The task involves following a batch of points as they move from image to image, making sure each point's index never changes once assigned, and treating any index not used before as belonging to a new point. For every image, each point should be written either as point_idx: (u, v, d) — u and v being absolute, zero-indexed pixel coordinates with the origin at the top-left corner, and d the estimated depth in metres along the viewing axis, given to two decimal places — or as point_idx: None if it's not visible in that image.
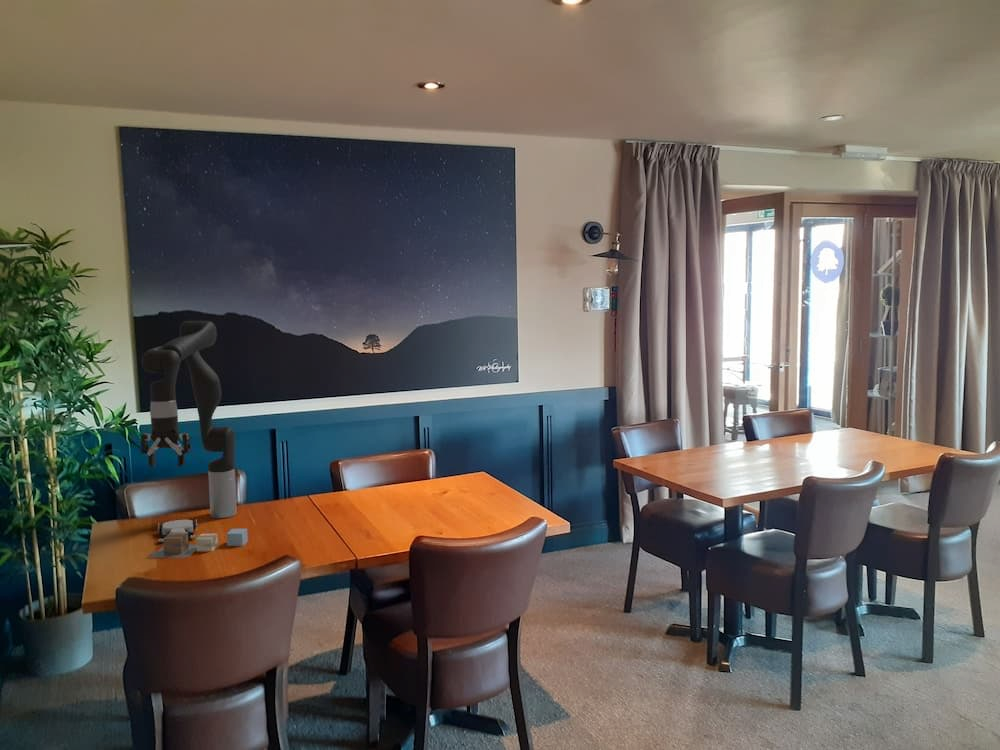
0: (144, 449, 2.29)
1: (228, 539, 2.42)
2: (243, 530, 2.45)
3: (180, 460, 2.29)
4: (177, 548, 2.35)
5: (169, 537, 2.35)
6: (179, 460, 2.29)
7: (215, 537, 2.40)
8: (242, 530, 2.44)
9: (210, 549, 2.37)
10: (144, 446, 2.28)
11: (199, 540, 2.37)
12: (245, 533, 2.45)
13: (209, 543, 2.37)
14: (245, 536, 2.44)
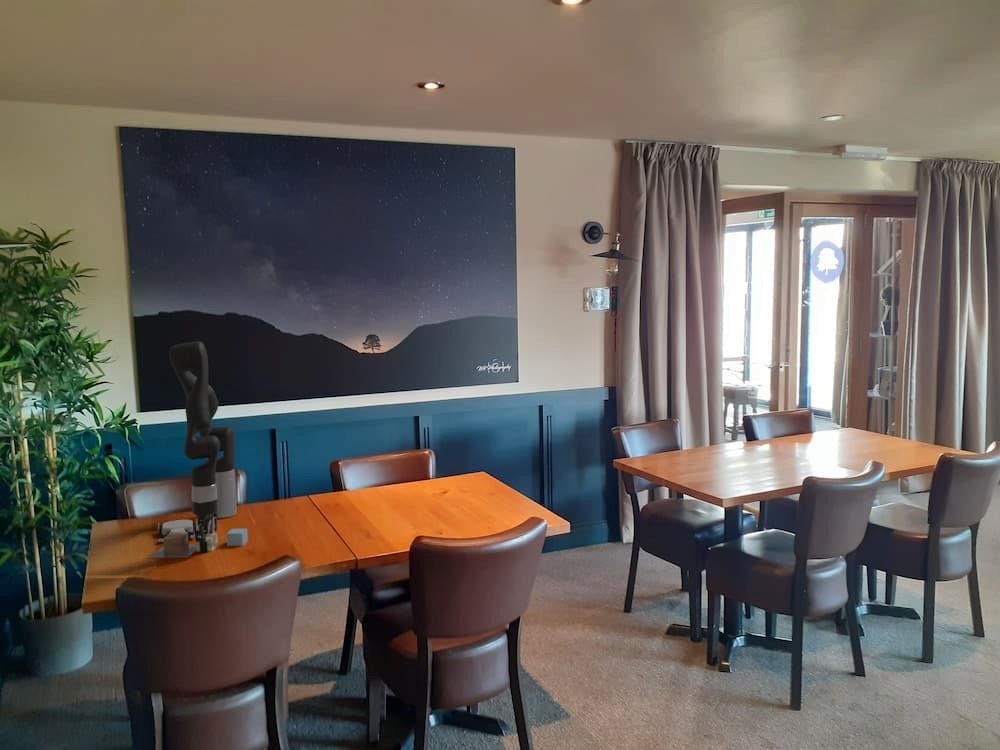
0: (204, 537, 2.34)
1: (228, 539, 2.42)
2: (243, 530, 2.45)
3: None
4: (177, 548, 2.35)
5: (169, 537, 2.35)
6: None
7: (215, 537, 2.40)
8: (242, 530, 2.44)
9: (210, 549, 2.37)
10: (203, 534, 2.34)
11: None
12: (245, 533, 2.45)
13: (209, 542, 2.37)
14: (245, 536, 2.44)
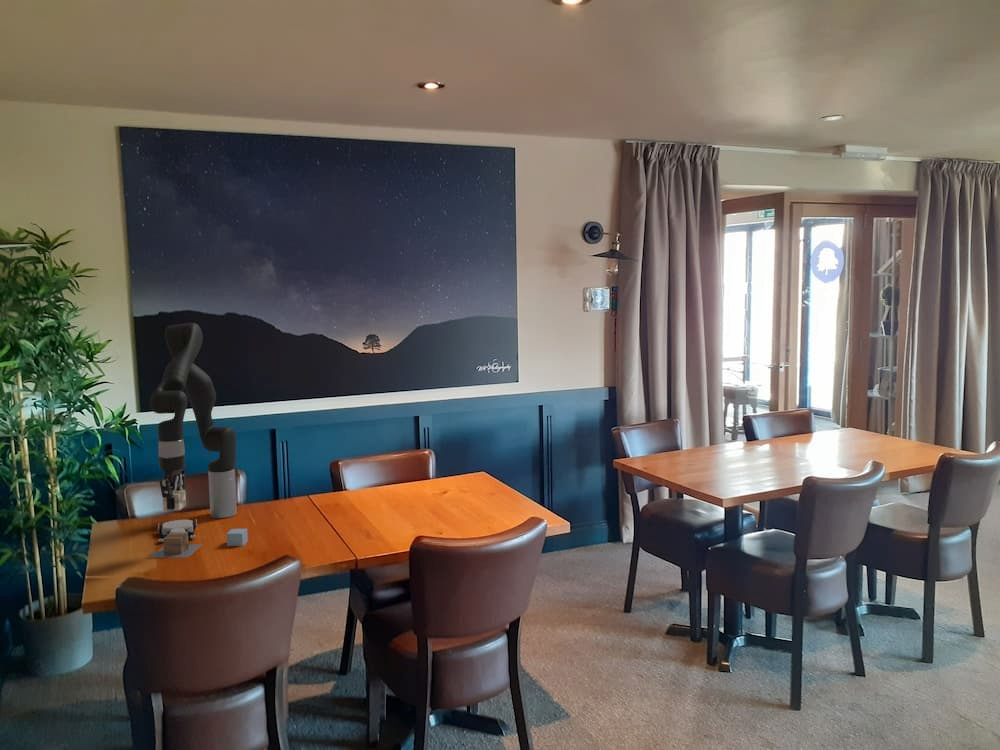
0: (171, 493, 2.31)
1: (228, 539, 2.42)
2: (243, 530, 2.45)
3: None
4: (177, 548, 2.35)
5: (169, 537, 2.35)
6: None
7: (183, 494, 2.36)
8: (242, 530, 2.44)
9: (177, 505, 2.33)
10: (170, 490, 2.30)
11: None
12: (245, 533, 2.45)
13: (176, 499, 2.33)
14: (245, 536, 2.44)
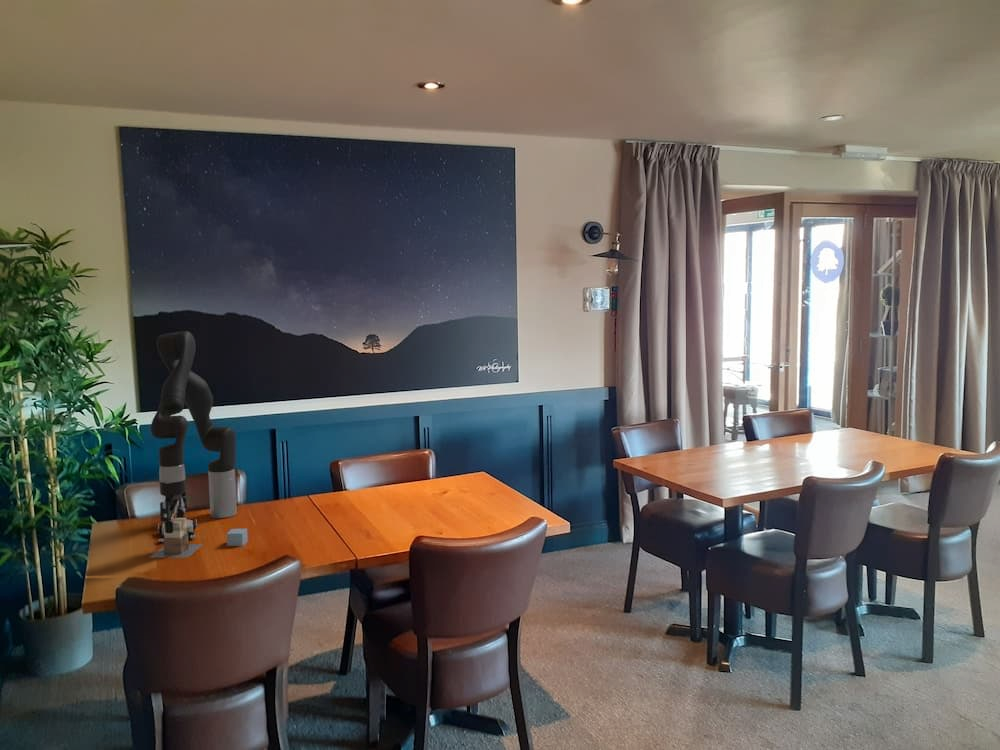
0: (169, 516, 2.30)
1: (228, 539, 2.42)
2: (243, 530, 2.45)
3: None
4: (177, 548, 2.35)
5: None
6: (184, 517, 2.41)
7: (184, 521, 2.37)
8: (242, 530, 2.44)
9: (178, 533, 2.34)
10: (169, 513, 2.30)
11: None
12: (245, 533, 2.45)
13: (177, 527, 2.34)
14: (245, 536, 2.44)
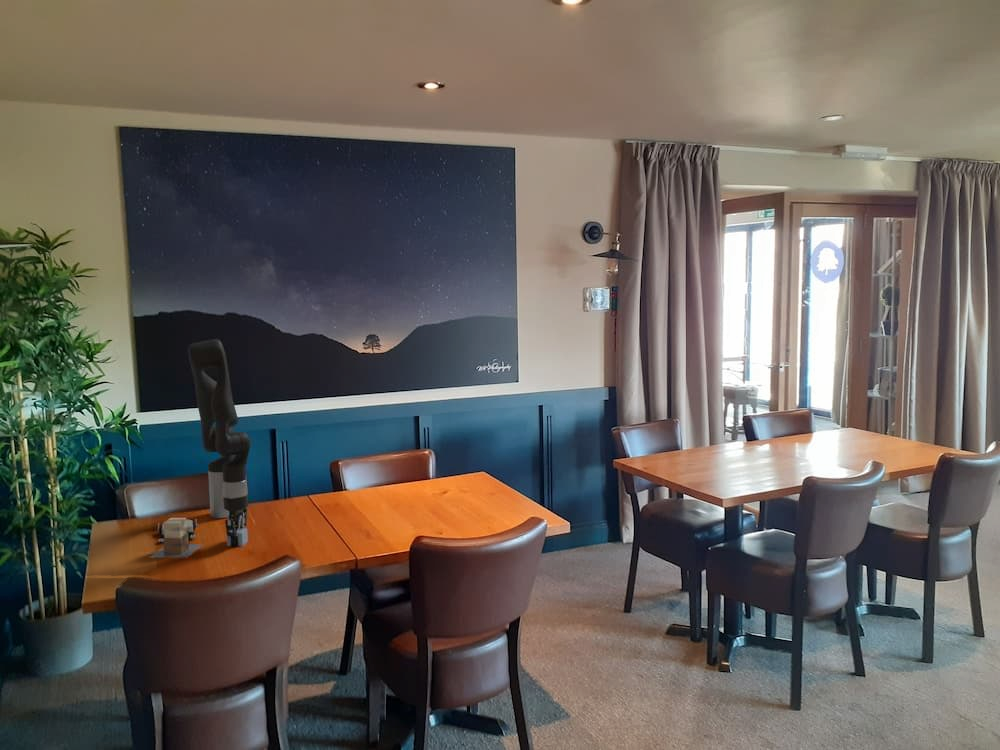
0: None
1: (228, 539, 2.42)
2: (243, 530, 2.45)
3: None
4: (177, 548, 2.35)
5: None
6: None
7: (184, 521, 2.37)
8: (242, 530, 2.44)
9: (178, 533, 2.34)
10: (234, 529, 2.39)
11: (167, 524, 2.34)
12: (245, 533, 2.45)
13: (177, 527, 2.34)
14: (245, 535, 2.44)
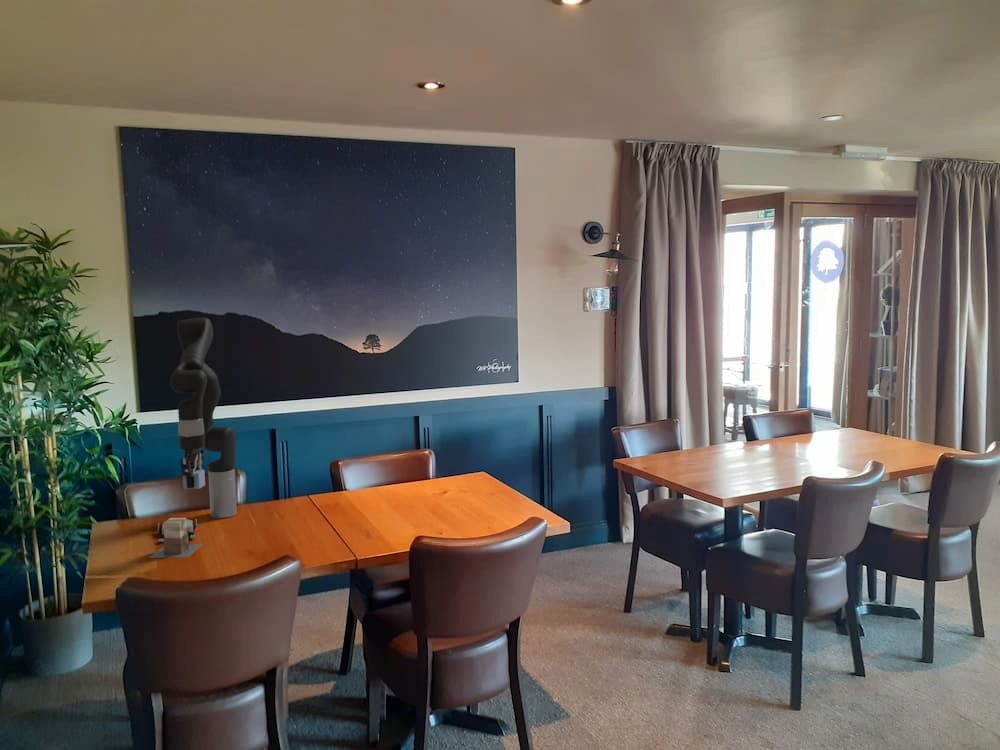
0: (191, 471, 2.32)
1: (184, 479, 2.34)
2: (200, 471, 2.37)
3: None
4: (177, 548, 2.35)
5: None
6: None
7: (184, 521, 2.37)
8: (199, 471, 2.37)
9: (178, 533, 2.34)
10: (190, 468, 2.32)
11: (167, 524, 2.34)
12: (202, 474, 2.38)
13: (177, 527, 2.34)
14: (201, 476, 2.37)
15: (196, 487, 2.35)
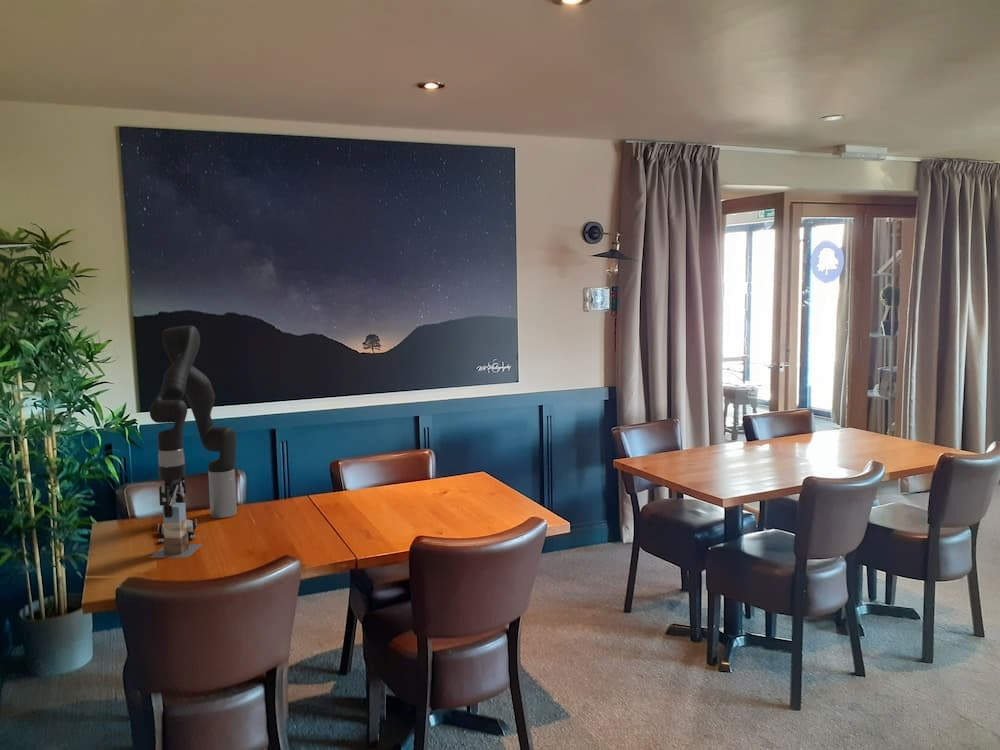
0: (168, 501, 2.29)
1: None
2: (180, 504, 2.36)
3: None
4: (177, 548, 2.35)
5: None
6: (183, 502, 2.40)
7: (184, 521, 2.37)
8: (179, 504, 2.36)
9: (178, 533, 2.34)
10: (168, 498, 2.29)
11: (167, 524, 2.34)
12: (183, 507, 2.37)
13: (177, 527, 2.34)
14: (182, 510, 2.36)
15: (176, 521, 2.34)
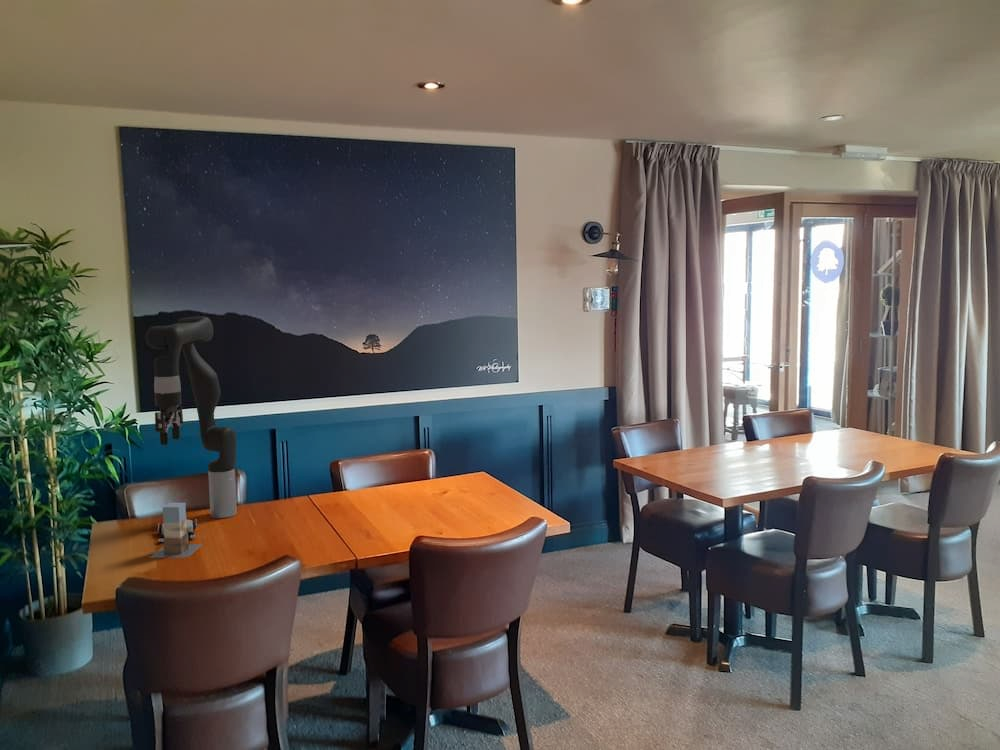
0: (164, 427, 2.27)
1: (164, 513, 2.34)
2: (180, 504, 2.36)
3: None
4: (177, 548, 2.35)
5: None
6: (179, 432, 2.37)
7: (184, 521, 2.37)
8: (179, 504, 2.36)
9: (178, 533, 2.34)
10: (164, 424, 2.27)
11: (167, 524, 2.34)
12: (183, 507, 2.37)
13: (177, 527, 2.34)
14: (182, 510, 2.36)
15: (176, 521, 2.34)
